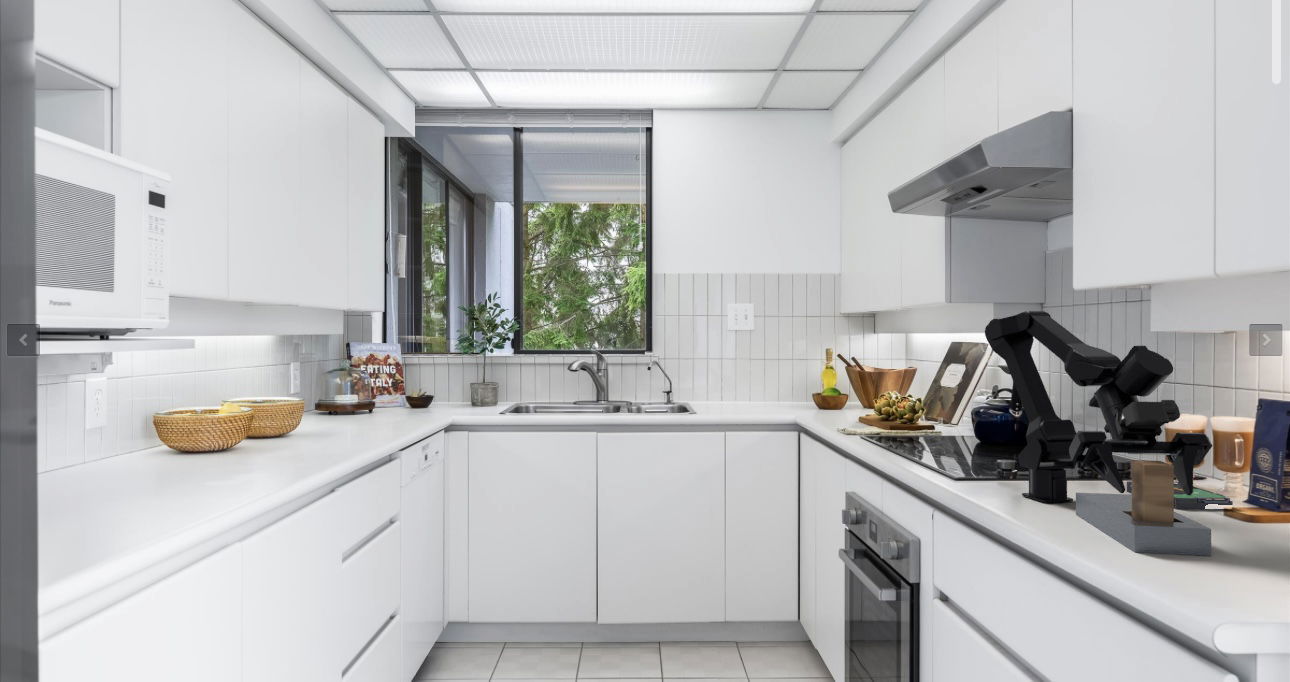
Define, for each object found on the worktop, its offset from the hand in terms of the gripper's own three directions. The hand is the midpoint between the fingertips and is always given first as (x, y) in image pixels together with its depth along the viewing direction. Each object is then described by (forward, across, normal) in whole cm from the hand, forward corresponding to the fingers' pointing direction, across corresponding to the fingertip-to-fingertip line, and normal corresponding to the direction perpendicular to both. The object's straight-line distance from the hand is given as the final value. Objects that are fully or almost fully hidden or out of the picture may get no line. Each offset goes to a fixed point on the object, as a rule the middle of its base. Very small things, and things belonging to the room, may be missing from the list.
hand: (1156, 492), depth 107 cm
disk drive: (-17, +18, +29) cm, 38 cm away
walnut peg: (+5, 0, +7) cm, 8 cm away
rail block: (+1, 0, +10) cm, 10 cm away
